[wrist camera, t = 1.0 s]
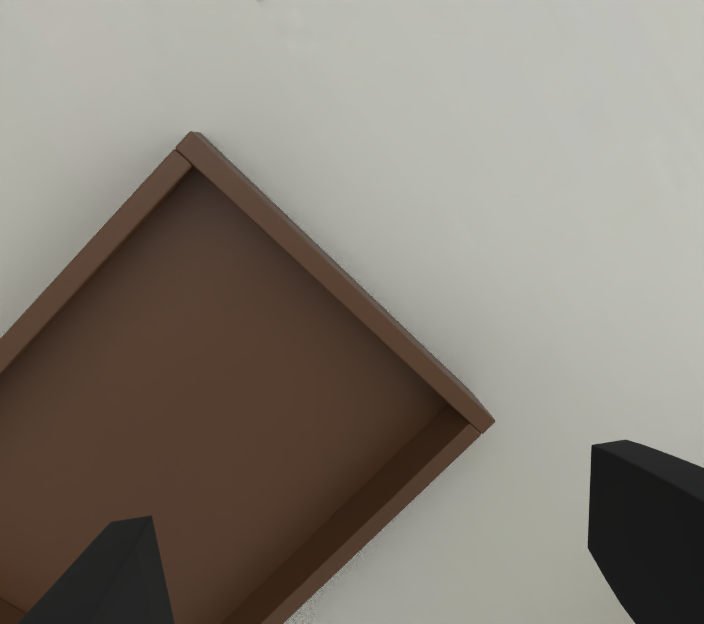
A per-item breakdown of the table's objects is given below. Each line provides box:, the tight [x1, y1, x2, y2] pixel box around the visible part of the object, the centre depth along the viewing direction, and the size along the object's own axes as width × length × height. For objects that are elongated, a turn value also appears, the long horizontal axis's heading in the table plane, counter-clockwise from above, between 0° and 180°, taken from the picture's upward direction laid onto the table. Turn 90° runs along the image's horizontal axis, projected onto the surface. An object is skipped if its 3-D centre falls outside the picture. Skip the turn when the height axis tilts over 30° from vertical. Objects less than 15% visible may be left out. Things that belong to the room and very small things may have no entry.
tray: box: [0, 132, 495, 624], centre depth 19 cm, size 16×12×2 cm
